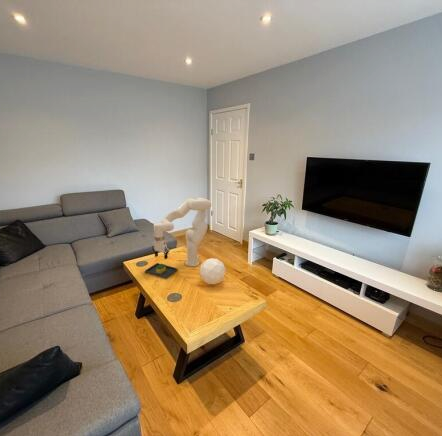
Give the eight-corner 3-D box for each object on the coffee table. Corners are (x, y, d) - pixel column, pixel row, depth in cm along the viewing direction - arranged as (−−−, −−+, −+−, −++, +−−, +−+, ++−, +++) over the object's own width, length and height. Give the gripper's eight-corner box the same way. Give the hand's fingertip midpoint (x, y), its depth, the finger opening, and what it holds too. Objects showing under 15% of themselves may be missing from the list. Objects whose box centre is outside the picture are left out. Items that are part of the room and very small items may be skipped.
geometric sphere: (206, 291, 179) (190, 272, 175) (218, 273, 192) (203, 255, 188) (222, 289, 165) (205, 269, 161) (234, 269, 179) (219, 250, 175)
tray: (157, 265, 206) (157, 262, 205) (177, 270, 197) (177, 268, 196) (144, 273, 192) (144, 270, 192) (166, 279, 183) (166, 277, 183)
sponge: (161, 268, 198) (161, 263, 197) (165, 270, 196) (165, 264, 195) (156, 272, 192) (155, 267, 191) (160, 273, 190) (160, 268, 189)
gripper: (171, 238, 186) (172, 257, 191) (153, 234, 193) (155, 253, 198) (165, 241, 179) (167, 261, 184) (147, 238, 187) (150, 257, 192)
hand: (161, 257), depth 191 cm, fingers open, 9 cm apart
